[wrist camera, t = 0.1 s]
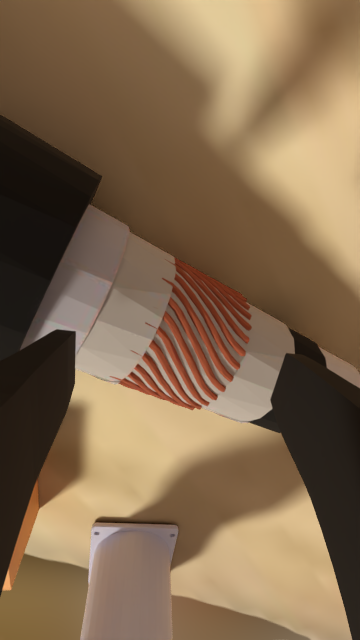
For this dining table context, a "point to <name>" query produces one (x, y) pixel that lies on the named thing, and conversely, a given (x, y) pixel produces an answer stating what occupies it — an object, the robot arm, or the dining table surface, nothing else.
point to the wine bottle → (129, 296)
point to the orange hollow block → (23, 538)
